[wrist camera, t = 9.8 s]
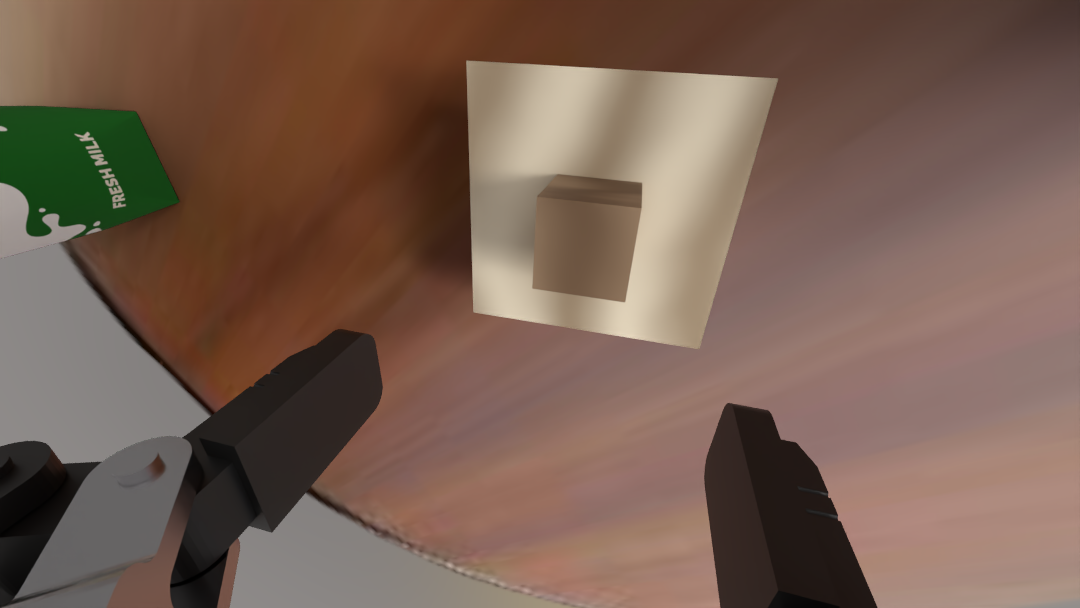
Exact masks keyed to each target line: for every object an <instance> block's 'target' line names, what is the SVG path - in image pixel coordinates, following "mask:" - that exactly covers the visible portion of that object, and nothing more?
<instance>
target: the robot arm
mask: <svg viewBox="0 0 1080 608" xmlns="http://www.w3.org/2000/svg"><path fill="white" fill-rule="evenodd" d="M382 388H383V386H382V379H381V373H380V367H379V362H378V356H377V350H376V344H375V340H374V338H373V337H372V336H371V335H369V334H364V333H359V332H354V331H348V330H343V329H338V330H335V331H334V332H332V333H331V334H329V335H328V336H327V337H326V338H324V339H323V340H322V341H321V342H319V343H318V344H317V345H315V346H312V347H309V348H307V349H305V350H303V351H301V352H298V353H296V354H294V355H292V356H290V357H288V358H287V359H286V360H284V361H283V362H282V363H280V364H279V365H278V366H276V367H275V368H274V369H273V370H271V372H270V374H266V375H265V376H263V377H262V378H261V379H259V380H258V381H257V382H255V385H254V386H253V387H251V386H250V387H249V388H248V389H246V390H245V391H244V392H242V393H241V394H240V395H238V396H237V397H236V398H234V399H233V400H232V401H230V402H229V403H228V404H226V405H225V406H224V407H223V408H221V409H220V410H219V411H217V412H216V413H215V414H213V415H212V416H211V417H209V418H208V419H207V420H206V421H204V422H203V423H201V424H200V425H199V426H198V427H196V428H195V429H194V430H192V431H191V432H190V433H188V434H187V435H186V436H184V437H183V438H181V437H176V436H164V437H157V438H152V439H148V440H144V441H141V442H138V443H135V444H133V445H131V446H128V447H126V448H124V449H122V450H120V451H118V452H116V453H115V454H113V455H112V456H110V457H108V458H107V459H105V460H104V461H103V462H91V463H90V462H89V463H69V464H62V463H61V461H60V460H59V459H58V457H57V456H56V455H55V453H54V452H53V451H52V449H51V448H50V447H49V446H48V445H47V444H46V443H43V442H38V441H24V442H17V443H12V444H8V445H4V446H1V447H0V608H229V607H230V601H231V596H232V590H233V584H234V579H235V574H236V568H237V563H238V557H239V552H240V542H239V539H238V537H239V536H240V535H241V534H242V532H244V530H245V529H246V528H247V527H248V526H251V527H255V528H259V529H262V530H265V531H268V532H273V531H274V530H275V528H276V527H277V526H278V525H279V524H280V522H281V521H282V520H283V519H284V518H285V516H286V515H287V514H288V513H289V512H290V511H291V509H292V508H293V507H294V506H295V505H296V503H297V502H298V501H299V500H300V499H301V497H302V496H303V495H304V494H305V493H306V492H307V490H308V489H309V488H310V487H311V486H312V484H313V483H314V482H315V481H316V480H317V478H318V477H319V476H320V475H321V474H322V473H323V471H324V470H325V469H326V468H327V467H328V465H329V464H330V463H331V462H332V461H333V459H334V458H335V457H336V456H337V455H338V454H339V452H340V451H341V450H342V449H343V448H344V446H345V445H346V444H347V443H348V442H349V440H350V439H351V438H352V437H353V436H354V434H355V433H356V432H357V431H358V430H359V429H360V427H361V426H362V425H363V424H364V423H365V421H366V420H367V419H368V418H369V417H370V415H371V414H372V413H373V412H374V411H375V409H376V408H377V406H378V404H379V402H380V399H381V395H382ZM704 481H705V491H706V499H707V507H708V514H709V522H710V530H711V538H712V545H713V553H714V561H715V568H716V576H717V584H718V591H719V599H720V607H721V608H877V605H876V603H875V601H874V598H873V596H872V594H871V591H870V589H869V587H868V584H867V582H866V580H865V577H864V575H863V573H862V570H861V568H860V566H859V563H858V561H857V559H856V556H855V554H854V552H853V549H852V547H851V545H850V542H849V540H848V538H847V535H846V533H845V530H844V528H843V526H842V523H841V521H838V514H837V512H836V509H835V507H834V505H833V502H832V500H831V498H828V491H827V488H826V486H825V484H824V481H823V479H822V477H821V474H820V472H819V470H818V467H817V466H816V465H815V464H814V462H813V461H812V460H811V459H810V458H809V457H808V456H807V454H806V453H805V452H804V451H803V450H802V449H801V448H800V446H799V445H798V444H797V443H796V442H790V441H785V440H781V439H780V436H779V434H778V431H777V428H776V425H775V422H774V420H773V417H772V415H771V413H770V412H769V411H768V410H763V409H758V408H753V407H747V406H742V405H737V404H732V403H728V404H726V406H725V407H724V409H723V412H722V415H721V418H720V420H719V423H718V426H717V429H716V432H715V435H714V437H713V440H712V443H711V446H710V449H709V452H708V455H707V459H706V464H705V475H704Z"/></svg>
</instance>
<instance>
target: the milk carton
mask: <svg viewBox="0 0 1080 608" xmlns="http://www.w3.org/2000/svg"><path fill="white" fill-rule="evenodd" d="M176 203H179V200H178V198H177V196H176V193H175V191H174V189H173V187H172V185H171V183H170V181H169V179H168V177H167V175H166V173H165V171H164V169H163V167H162V164H161V162H160V160H159V158H158V156H157V154H156V152H155V150H154V148H153V146H152V144H151V142H150V140H149V138H148V136H147V133H146V131H145V129H144V127H143V125H142V123H141V121H140V119H139V117H138V115H137V113H136V112H134V111H117V110H100V109H84V108H67V107H47V106H0V259H2V258H5V257H9V256H12V255H16V254H20V253H23V252H27V251H30V250H34V249H38V248H41V247H45V246H49V245H52V244H56V243H59V242H63V241H67V240H70V239H74V238H78V237H81V236H85V235H88V234H91V233H95V232H98V231H102V230H105V229H108V228H111V227H114V226H116V225H119V224H122V223H125V222H128V221H130V220H133V219H136V218H138V217H141V216H144V215H146V214H149V213H152V212H154V211H157V210H160V209H162V208H165V207H168V206H170V205H173V204H176Z"/></svg>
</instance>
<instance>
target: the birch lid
mask: <svg viewBox="0 0 1080 608" xmlns="http://www.w3.org/2000/svg"><path fill="white" fill-rule="evenodd" d="M466 63H467V98H468V134H469V169H470V205H471V240H472V276H473V311H474V312H475V313H481V314H488V315H494V316H500V317H506V318H512V319H518V320H524V321H530V322H536V323H542V324H549V325H555V326H561V327H567V328H573V329H579V330H585V331H591V332H597V333H604V334H610V335H616V336H622V337H628V338H634V339H640V340H646V341H652V342H659V343H665V344H671V345H677V346H683V347H689V348H695V349H699V348H700V344H701V341H702V337H703V334H704V331H705V327H706V324H707V320H708V317H709V314H710V310H711V307H712V303H713V300H714V296H715V293H716V290H717V286H718V283H719V279H720V276H721V272H722V269H723V266H724V262H725V259H726V255H727V252H728V248H729V245H730V242H731V238H732V235H733V231H734V228H735V225H736V221H737V218H738V214H739V211H740V207H741V204H742V201H743V197H744V194H745V190H746V187H747V183H748V180H749V177H750V173H751V170H752V166H753V163H754V160H755V156H756V153H757V149H758V146H759V142H760V139H761V136H762V132H763V129H764V125H765V122H766V118H767V115H768V112H769V108H770V105H771V101H772V98H773V95H774V91H775V88H776V84H777V81H778V79H777V78H759V77H742V76H725V75H707V74H690V73H672V72H655V71H638V70H620V69H603V68H586V67H568V66H551V65H533V64H516V63H499V62H481V61H466Z"/></svg>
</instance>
